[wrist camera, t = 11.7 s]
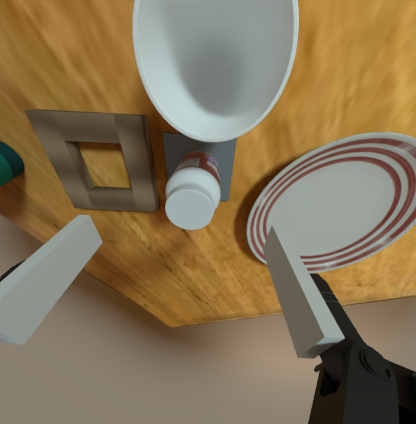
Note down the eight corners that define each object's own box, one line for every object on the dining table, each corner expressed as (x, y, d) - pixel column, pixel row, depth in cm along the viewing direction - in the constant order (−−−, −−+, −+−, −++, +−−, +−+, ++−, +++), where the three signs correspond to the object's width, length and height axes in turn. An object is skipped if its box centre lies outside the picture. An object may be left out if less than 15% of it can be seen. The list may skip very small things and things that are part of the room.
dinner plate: (442, 204, 27) (469, 216, 24) (299, 277, 39) (305, 290, 37) (367, 73, 18) (395, 67, 15) (213, 221, 30) (213, 233, 28)
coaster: (163, 132, 22) (162, 133, 21) (236, 136, 22) (236, 137, 21) (170, 196, 27) (169, 197, 27) (228, 199, 27) (228, 201, 27)
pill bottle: (223, 184, 25) (227, 230, 16) (186, 192, 26) (171, 240, 17) (213, 144, 22) (213, 174, 13) (172, 155, 23) (145, 190, 14)
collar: (39, 109, 21) (24, 110, 19) (146, 114, 21) (140, 115, 19) (82, 201, 29) (74, 207, 27) (160, 206, 29) (156, 212, 27)
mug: (262, 103, 20) (311, 102, 10) (198, 136, 22) (185, 163, 12) (227, -46, 14) (261, -436, 4) (145, 21, 16) (34, -112, 6)
